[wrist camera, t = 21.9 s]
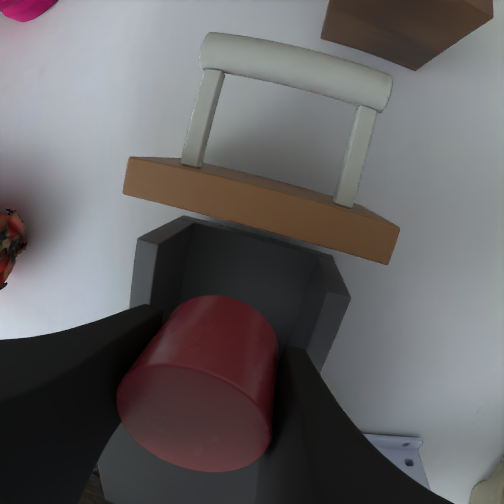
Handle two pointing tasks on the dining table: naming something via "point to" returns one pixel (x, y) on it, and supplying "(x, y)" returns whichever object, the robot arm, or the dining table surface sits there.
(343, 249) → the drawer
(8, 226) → the dragon fruit
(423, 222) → the dining table surface
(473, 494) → the jawbone
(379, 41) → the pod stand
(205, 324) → the coffee pod
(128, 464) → the open grey box
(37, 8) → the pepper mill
